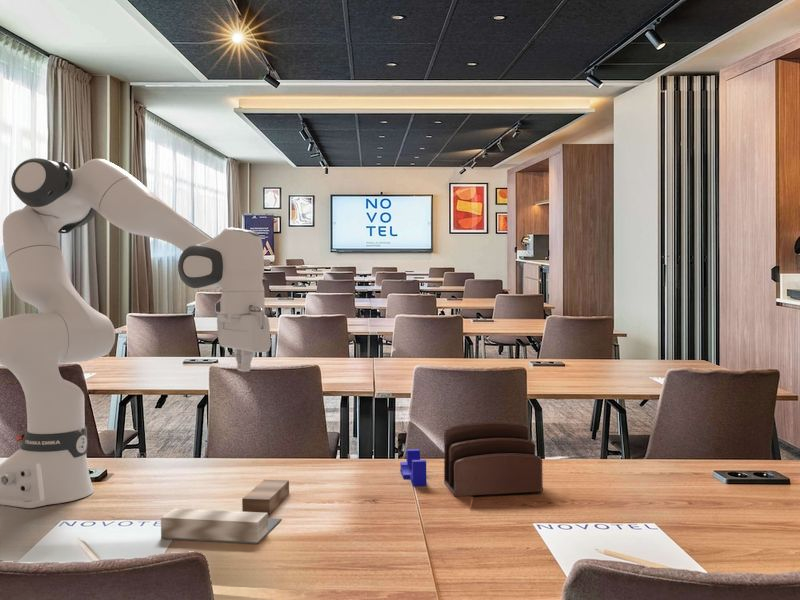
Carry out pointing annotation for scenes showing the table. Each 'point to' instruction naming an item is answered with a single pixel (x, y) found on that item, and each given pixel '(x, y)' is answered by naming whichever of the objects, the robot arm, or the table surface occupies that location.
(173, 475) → the table surface
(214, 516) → the beige wooden block
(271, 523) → the underlay mat
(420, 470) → the cable clip
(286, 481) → the walnut plank
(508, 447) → the letter holder
